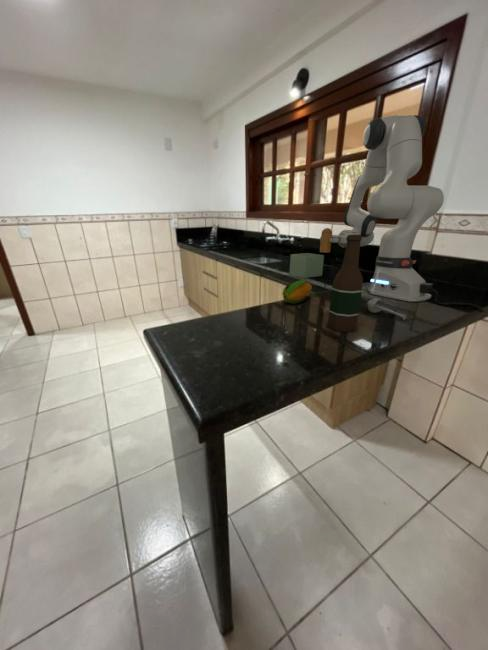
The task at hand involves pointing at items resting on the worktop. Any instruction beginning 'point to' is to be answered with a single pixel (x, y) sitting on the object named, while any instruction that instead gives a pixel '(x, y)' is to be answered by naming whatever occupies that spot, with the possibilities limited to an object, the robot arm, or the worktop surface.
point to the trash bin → (306, 265)
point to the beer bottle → (347, 289)
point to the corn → (296, 291)
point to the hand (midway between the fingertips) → (324, 239)
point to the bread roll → (325, 240)
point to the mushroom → (381, 307)
